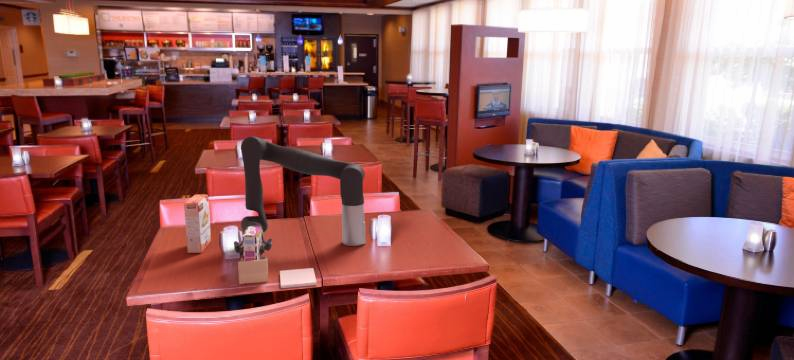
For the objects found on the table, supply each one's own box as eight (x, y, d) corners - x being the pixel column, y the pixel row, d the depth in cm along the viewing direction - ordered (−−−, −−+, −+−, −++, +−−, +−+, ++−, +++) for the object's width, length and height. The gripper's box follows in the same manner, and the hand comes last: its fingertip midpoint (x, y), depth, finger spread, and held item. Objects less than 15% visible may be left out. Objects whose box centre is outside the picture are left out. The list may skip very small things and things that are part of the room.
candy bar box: (258, 280, 187) (256, 235, 183) (244, 280, 187) (241, 236, 183) (263, 267, 198) (261, 225, 194) (249, 268, 197) (247, 225, 194)
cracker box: (202, 253, 212) (198, 202, 207) (187, 254, 211) (182, 203, 207) (212, 241, 225) (208, 193, 221) (197, 242, 225) (193, 193, 220)
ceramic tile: (313, 270, 196) (313, 268, 195) (316, 285, 183) (316, 282, 183) (279, 273, 193) (279, 270, 193) (280, 288, 181) (280, 285, 180)
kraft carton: (267, 261, 204) (266, 241, 202) (268, 281, 186) (266, 259, 184) (241, 263, 202) (240, 243, 200) (239, 284, 184) (237, 262, 182)
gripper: (233, 229, 201) (230, 244, 185) (272, 226, 205) (272, 241, 189) (234, 248, 203) (231, 264, 187) (273, 245, 206) (273, 261, 190)
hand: (252, 252), depth 188 cm, fingers closed on candy bar box, 5 cm apart
